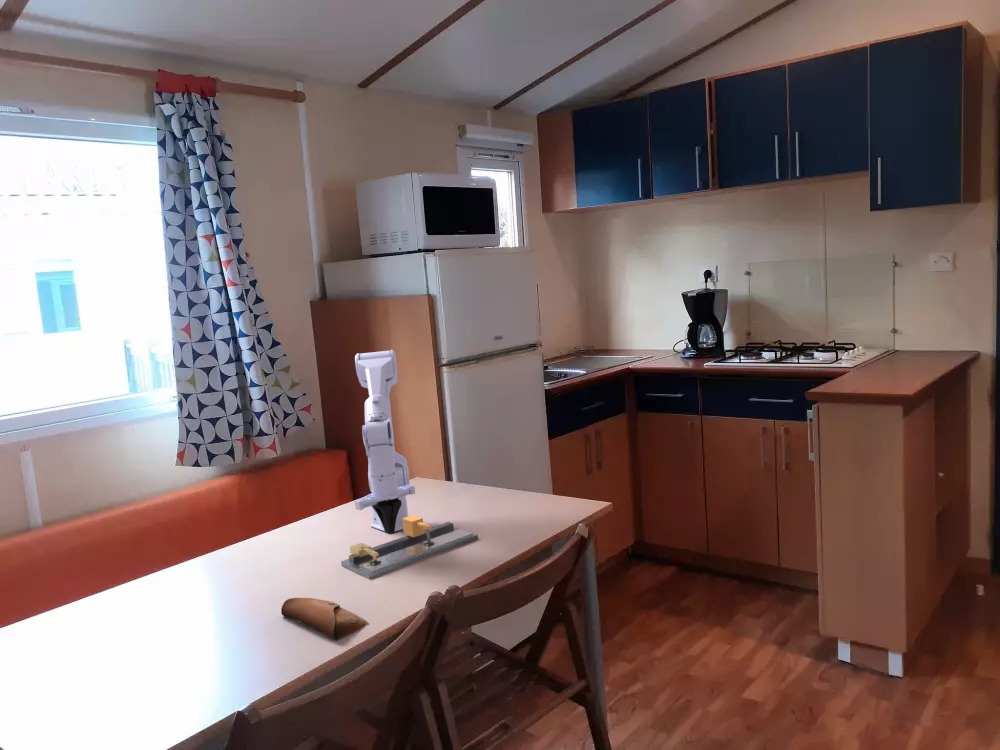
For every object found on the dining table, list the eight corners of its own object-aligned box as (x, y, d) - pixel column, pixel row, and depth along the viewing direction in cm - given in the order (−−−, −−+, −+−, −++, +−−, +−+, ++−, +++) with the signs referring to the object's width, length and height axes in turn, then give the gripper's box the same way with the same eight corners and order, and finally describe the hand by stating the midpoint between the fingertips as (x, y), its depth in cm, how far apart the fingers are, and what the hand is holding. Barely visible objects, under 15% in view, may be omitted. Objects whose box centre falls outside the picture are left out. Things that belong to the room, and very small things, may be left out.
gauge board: (341, 565, 176) (339, 548, 175) (447, 528, 194) (446, 513, 193) (369, 579, 166) (367, 560, 166) (478, 539, 184) (476, 522, 184)
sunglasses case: (374, 622, 145) (354, 599, 142) (349, 654, 141) (328, 632, 138) (318, 600, 158) (299, 579, 154) (294, 630, 154) (274, 608, 151)
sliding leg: (404, 536, 185) (402, 518, 184) (415, 533, 186) (413, 515, 186) (426, 545, 178) (423, 526, 177) (437, 541, 179) (435, 522, 179)
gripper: (363, 484, 170) (371, 545, 172) (419, 468, 179) (426, 526, 181) (347, 479, 176) (354, 538, 177) (402, 464, 185) (409, 520, 186)
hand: (389, 532), depth 180 cm, fingers closed
